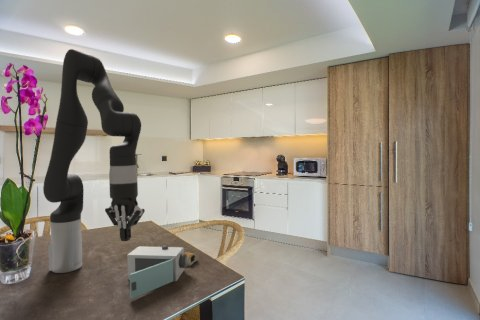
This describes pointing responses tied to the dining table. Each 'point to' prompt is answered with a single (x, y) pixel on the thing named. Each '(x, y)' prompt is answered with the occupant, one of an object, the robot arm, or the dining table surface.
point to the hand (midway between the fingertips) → (125, 240)
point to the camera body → (156, 258)
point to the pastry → (191, 258)
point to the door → (152, 278)
